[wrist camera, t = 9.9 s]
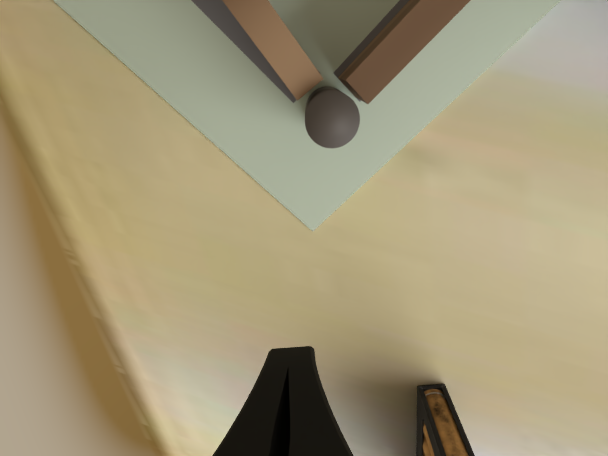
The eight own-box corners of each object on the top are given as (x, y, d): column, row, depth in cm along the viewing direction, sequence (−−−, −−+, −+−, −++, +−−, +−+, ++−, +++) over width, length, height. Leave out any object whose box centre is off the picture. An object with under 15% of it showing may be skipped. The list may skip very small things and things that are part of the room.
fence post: (499, -39, 15) (573, -82, 11) (326, 138, 18) (331, 159, 14) (470, -82, 14) (537, -144, 10) (296, 109, 17) (293, 121, 13)
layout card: (559, -1, 15) (563, -2, 15) (312, 229, 20) (312, 231, 19) (295, -411, 11) (295, -421, 11) (56, 1, 15) (52, 0, 15)
